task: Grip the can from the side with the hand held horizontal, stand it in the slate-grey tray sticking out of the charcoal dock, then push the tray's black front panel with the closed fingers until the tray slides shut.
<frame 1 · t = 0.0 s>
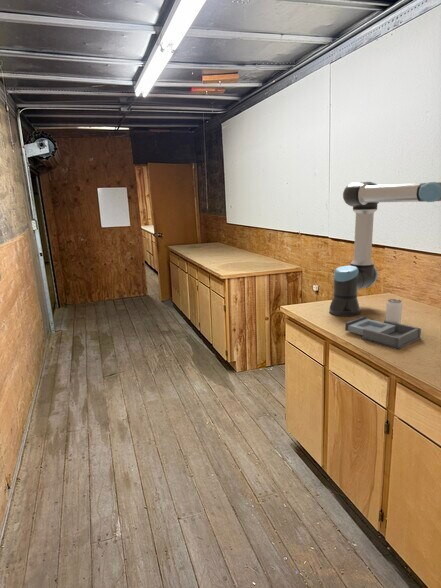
can: (392, 326, 179), on the table
tray: (370, 326, 170), point 3 cm above the table, slide at 8.0 cm
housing: (390, 339, 163), on the table
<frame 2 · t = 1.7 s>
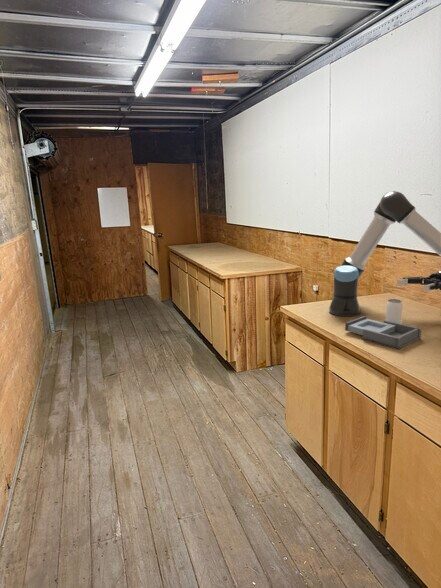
hand: (410, 285, 179), 18 cm above the table, tool horizontal, fingers open, 13 cm apart
nothing on the table moved.
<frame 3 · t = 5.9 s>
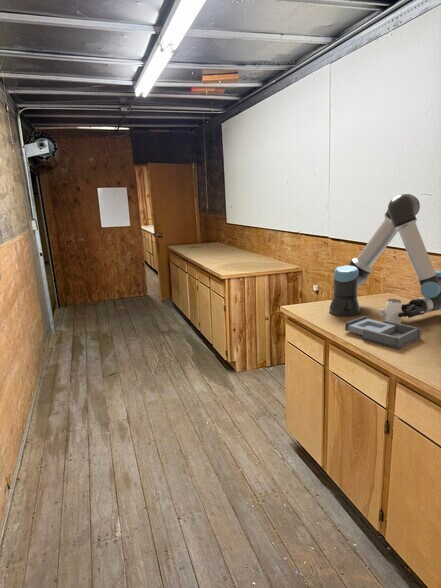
hand: (386, 314, 175), 6 cm above the table, tool horizontal, fingers closed on can, 6 cm apart
can: (392, 326, 179), on the table, touching gripper
everything else where it was.
when the fingers open (10 cm above the table, at t = 10.2 s): can drops 2 cm, resting on tray.
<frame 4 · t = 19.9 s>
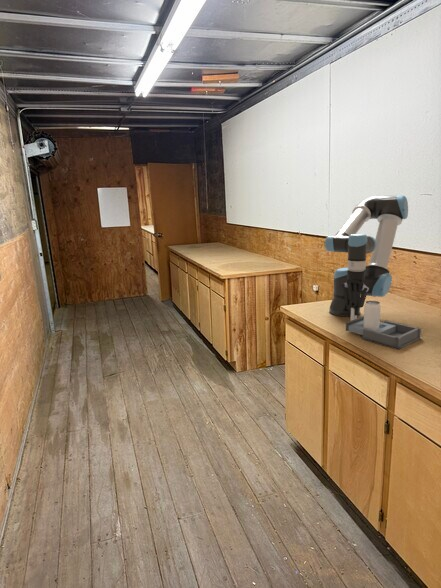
hand: (353, 321, 176), 4 cm above the table, tool pointing down, fingers closed
can: (371, 329, 170), point 2 cm above the table, touching tray
tray: (370, 326, 170), point 3 cm above the table, slide at 7.8 cm, touching can, gripper
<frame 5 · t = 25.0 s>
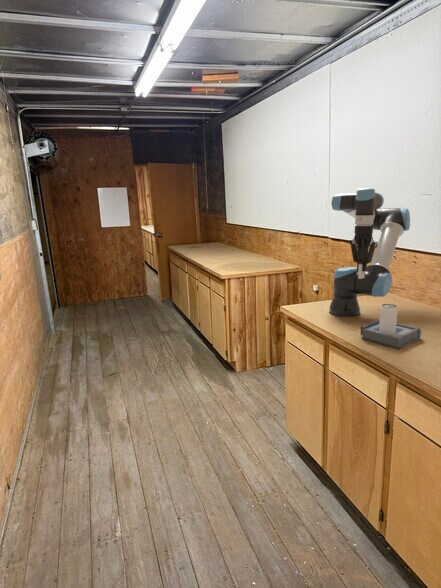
hand: (361, 278, 176), 22 cm above the table, tool pointing down, fingers closed
can: (387, 333, 164), point 2 cm above the table, touching tray
tray: (386, 331, 164), point 3 cm above the table, slide at 0.4 cm, touching can
at the end: tray slide at 0.4 cm; can inside the target area on the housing (0.7 cm from its centre), point 2.0 cm above the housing's base; can tilted 0° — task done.
